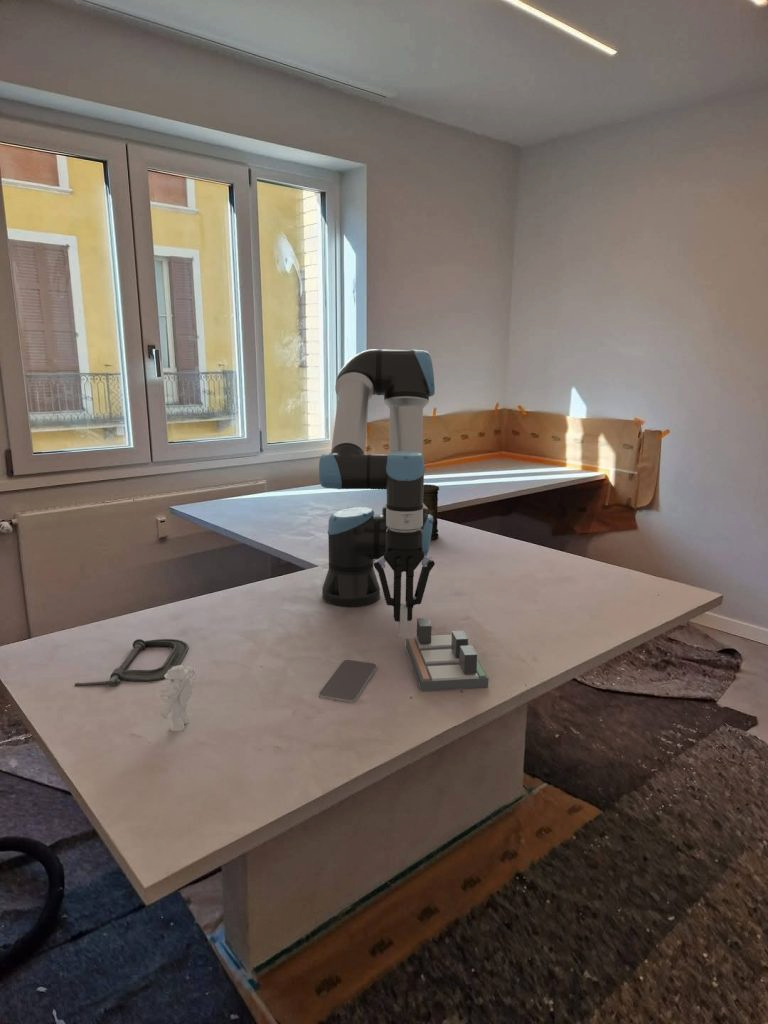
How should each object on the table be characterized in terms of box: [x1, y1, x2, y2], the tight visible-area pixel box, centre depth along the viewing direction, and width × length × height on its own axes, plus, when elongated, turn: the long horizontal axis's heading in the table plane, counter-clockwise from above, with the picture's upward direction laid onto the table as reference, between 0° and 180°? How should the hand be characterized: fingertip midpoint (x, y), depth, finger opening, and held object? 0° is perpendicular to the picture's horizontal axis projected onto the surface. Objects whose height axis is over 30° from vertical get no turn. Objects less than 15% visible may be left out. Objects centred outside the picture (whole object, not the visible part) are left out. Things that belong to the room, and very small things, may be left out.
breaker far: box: [416, 617, 432, 644], centre depth 140 cm, size 2×4×4 cm, turn 7°
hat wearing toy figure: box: [158, 664, 197, 732], centre depth 111 cm, size 9×4×12 cm, turn 168°
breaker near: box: [459, 644, 478, 674], centre depth 127 cm, size 2×4×4 cm, turn 7°
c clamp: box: [74, 638, 189, 688], centre depth 134 cm, size 20×17×3 cm
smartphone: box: [318, 659, 378, 703], centre depth 128 cm, size 7×1×15 cm
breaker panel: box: [405, 634, 489, 692], centre depth 134 cm, size 13×19×2 cm
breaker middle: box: [451, 630, 469, 658], centre depth 134 cm, size 2×4×4 cm, turn 7°
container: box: [423, 483, 440, 541], centre depth 224 cm, size 9×9×18 cm
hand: (402, 634), depth 139 cm, fingers closed
